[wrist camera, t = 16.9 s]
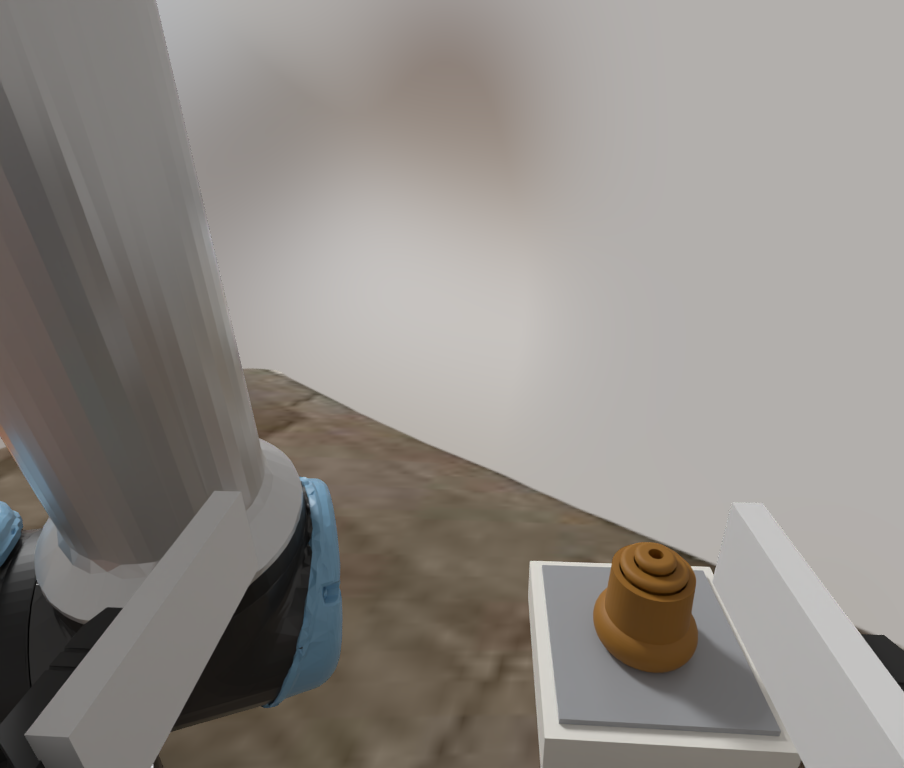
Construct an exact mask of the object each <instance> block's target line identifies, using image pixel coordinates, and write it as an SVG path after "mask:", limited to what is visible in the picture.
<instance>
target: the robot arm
mask: <svg viewBox="0 0 904 768" xmlns="http://www.w3.org/2000/svg"><path fill="white" fill-rule="evenodd" d="M0 437H1V439H2V440H3V442H4V443H5V445H6V447H7V448H8V450H9V452H10V453H11V455H12V456H13V458H14V460H15V461H16V463H17V465H18V466H19V468H20V469H21V471H22V473H23V474H24V476H25V478H26V479H27V481H28V483H29V484H30V486H31V487H32V489H33V491H34V492H35V494H36V496H37V497H38V499H39V500H40V502H41V504H42V505H43V507H44V509H45V510H46V512H47V513H48V515H49V519H48V520H47V522H46V524H45V525H44V527H43V528H41V529H35V530H23V529H22V528H23V524H22V518H21V516H20V515H19V513H18V512H15V511H13V510H11V509H10V507H9V506H8V505H7V504H6V503H4V502H2V501H0V768H163V766H162V763H161V760H160V757H159V755H158V754H159V752H160V750H161V748H162V746H163V744H164V743H165V741H166V739H167V737H168V735H169V733H170V732H172V731H176V730H179V729H182V728H186V727H189V726H193V725H196V724H200V723H203V722H207V721H210V720H214V719H217V718H221V717H224V716H228V715H231V714H235V713H238V712H242V711H245V710H249V709H252V708H256V707H259V706H262V707H263V708H270V707H275V706H277V705H279V703H281V702H282V701H283V700H284V699H286V698H288V697H291V696H294V695H297V694H300V693H302V692H305V691H308V690H311V689H314V688H317V687H319V686H320V685H322V684H323V683H324V682H326V681H327V680H328V679H329V678H330V676H331V675H332V674H333V672H334V670H335V669H336V666H337V664H338V661H339V657H340V652H341V642H342V598H341V592H340V589H339V585H340V557H339V546H338V537H337V529H336V521H335V515H334V509H333V504H332V499H331V495H330V492H329V489H328V487H327V485H326V484H325V483H324V482H323V481H321V480H319V479H308V478H306V477H299V476H298V473H297V471H296V469H295V467H294V465H293V463H292V461H291V460H290V459H289V458H288V457H287V456H286V455H285V454H284V453H283V452H282V451H281V450H279V449H278V448H277V447H275V446H273V445H272V444H270V443H268V442H266V441H264V440H261V439H259V438H258V433H257V429H256V425H255V421H254V416H253V412H252V408H251V403H250V399H249V395H248V391H247V386H246V382H245V378H244V374H243V369H242V365H241V361H240V357H239V353H238V348H237V344H236V340H235V335H234V331H233V327H232V323H231V318H230V315H229V310H228V306H227V301H226V297H225V293H224V288H223V284H222V280H221V276H220V271H219V267H218V263H217V259H216V255H215V250H214V246H213V242H212V237H211V233H210V229H209V225H208V220H207V216H206V212H205V208H204V204H203V199H202V195H201V191H200V186H199V182H198V178H197V174H196V169H195V165H194V161H193V156H192V152H191V148H190V144H189V139H188V136H187V131H186V127H185V122H184V118H183V114H182V110H181V105H180V101H179V97H178V93H177V88H176V84H175V80H174V76H173V71H172V67H171V63H170V59H169V54H168V51H167V46H166V42H165V37H164V34H163V29H162V24H161V21H160V16H159V12H158V8H157V3H156V0H0ZM712 582H713V584H714V586H715V588H716V590H717V592H718V594H719V596H720V598H721V600H722V602H723V604H724V606H725V608H726V610H727V612H728V614H729V616H730V618H731V620H732V622H733V624H734V626H735V628H736V630H737V632H738V634H739V636H740V638H741V640H742V642H743V644H744V646H745V648H746V650H747V652H748V654H749V656H750V658H751V660H752V662H753V664H754V666H755V668H756V670H757V672H758V674H759V676H760V678H761V680H762V682H763V684H764V686H765V688H766V690H767V692H768V694H769V696H770V698H771V700H772V702H773V704H774V706H775V708H776V710H777V712H778V714H779V716H780V718H781V720H782V722H783V724H784V726H785V728H786V730H787V732H788V734H789V736H790V738H791V740H792V742H793V744H794V746H795V748H796V750H797V752H798V754H799V756H800V758H801V760H802V762H803V764H804V766H805V768H904V651H903V650H902V649H901V648H900V647H898V646H897V645H896V644H894V643H893V642H892V641H891V640H889V639H888V638H887V637H886V636H884V635H865V634H860V633H859V631H858V630H857V629H856V627H855V626H854V625H853V623H852V622H851V621H850V619H849V618H848V617H847V615H846V614H845V613H844V611H843V610H842V609H841V608H840V606H839V605H838V603H837V602H836V601H835V599H834V598H833V597H832V595H831V594H830V593H829V591H828V590H827V589H826V587H825V586H824V585H823V583H822V582H821V581H820V579H819V578H818V577H817V575H816V574H815V573H814V571H813V570H812V569H811V567H810V566H809V565H808V563H807V562H806V560H805V559H804V558H803V557H802V555H801V554H800V552H799V551H798V550H797V548H796V547H795V546H794V544H793V543H792V542H791V540H790V539H789V538H788V537H787V535H786V534H785V532H784V531H783V530H782V528H781V527H780V526H779V525H778V523H777V522H776V520H775V519H774V518H773V516H772V515H771V514H770V512H769V511H768V510H767V508H766V507H765V506H764V504H763V503H740V502H732V504H731V508H730V512H729V516H728V521H727V525H726V528H725V532H724V536H723V541H722V545H721V549H720V553H719V557H718V561H717V565H716V569H715V573H714V577H713V581H712Z"/></svg>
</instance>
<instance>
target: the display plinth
mask: <svg viewBox="0 0 904 768" xmlns="http://www.w3.org/2000/svg"><path fill="white" fill-rule="evenodd" d="M611 565H612V564H607V563H578V562H548V561H530V569H529V590H528V602H529V615H530V629H531V643H532V656H533V670H534V684H535V697H536V711H537V725H538V738H539V752H540V765H541V768H798V767H799V765H800V762H801V758H800V756H799V754H798V752H797V750H796V748H795V746H794V744H793V742H792V740H791V738H790V736H789V734H788V732H787V730H786V728H785V726H784V724H783V722H782V720H781V718H780V716H779V714H778V712H777V710H776V708H775V706H774V704H773V702H772V700H771V698H770V696H769V694H768V692H767V690H766V688H765V686H764V684H763V682H762V680H761V678H760V676H759V674H758V672H757V670H756V668H755V666H754V664H753V662H752V660H751V658H750V656H749V654H748V652H747V650H746V648H745V646H744V644H743V642H742V640H741V638H740V636H739V634H738V632H737V630H736V628H735V626H734V624H733V622H732V620H731V618H730V616H729V614H728V612H727V610H726V608H725V606H724V604H723V602H722V600H721V598H720V596H719V594H718V592H717V590H716V588H715V586H714V584H713V582H712V581H713V577H714V575H713V573H712V571H711V569H710V567H695V566H691V568H692V569H693V571H694V573H695V576H696V588H695V594H694V600H693V607H692V615H693V617H694V619H695V622H696V625H697V629H698V643H697V647H696V650H695V652H694V654H693V656H692V657H691V659H690V660H689V661H688V662H687V663H686V664H684V665H683V666H682V667H680V668H678V669H676V670H673V671H669V672H663V673H652V672H645V671H641V670H638V669H635V668H632V667H630V666H628V665H626V664H624V663H623V662H621V661H620V660H618V659H617V658H615V657H614V656H613V655H612V654H611V653H610V652H609V651H608V650H607V649H606V648H605V646H604V645H603V644H602V642H601V641H600V639H599V637H598V635H597V633H596V630H595V627H594V621H593V610H594V606H595V603H596V600H597V598H598V597H599V595H600V594H601V593H602V592H603V591H604V590H605V589H606V588H607V586H608V581H609V576H610V570H611Z"/></svg>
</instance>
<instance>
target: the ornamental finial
mask: <svg viewBox="0 0 904 768" xmlns="http://www.w3.org/2000/svg"><path fill="white" fill-rule="evenodd" d="M695 588H696V576H695V573H694V571H693V569H692V568H691V566H690V565H689V564H688V563H687V562H686V561H685V560H684V559H683V558H682V557H681V556H679V555H678V554H677V553H676V552H674V551H673V550H671V549H669V548H667V547H665V546H663V545H661V544H658V543H651V542H650V543H649V542H641V543H636V544H632V545H628V546H625V547H623V548H621V549H620V550H618V551H617V552H616V554H615V555H614V557H613V560H612V565H611V570H610V576H609V581H608V586H607V588H606V589H605V590H604V591H603V592H602V593H601V594H600V595H599V597H598V598H597V600H596V603H595V606H594V610H593V621H594V627H595V630H596V633H597V635H598V637H599V639H600V641H601V642H602V644H603V645H604V646H605V648H606V649H607V650H608V651H609V652H610V653H611V654H612V655H613V656H614V657H615V658H617V659H618V660H620V661H621V662H623V663H624V664H626V665H628V666H630V667H632V668H635V669H638V670H641V671H645V672H652V673H663V672H669V671H673V670H676V669H678V668H680V667H682V666H683V665H684V664H686V663H687V662H688V661H689V660H690V659H691V657H692V656H693V654H694V652H695V650H696V647H697V643H698V629H697V625H696V622H695V619H694V617H693V615H692V607H693V600H694V594H695Z"/></svg>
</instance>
